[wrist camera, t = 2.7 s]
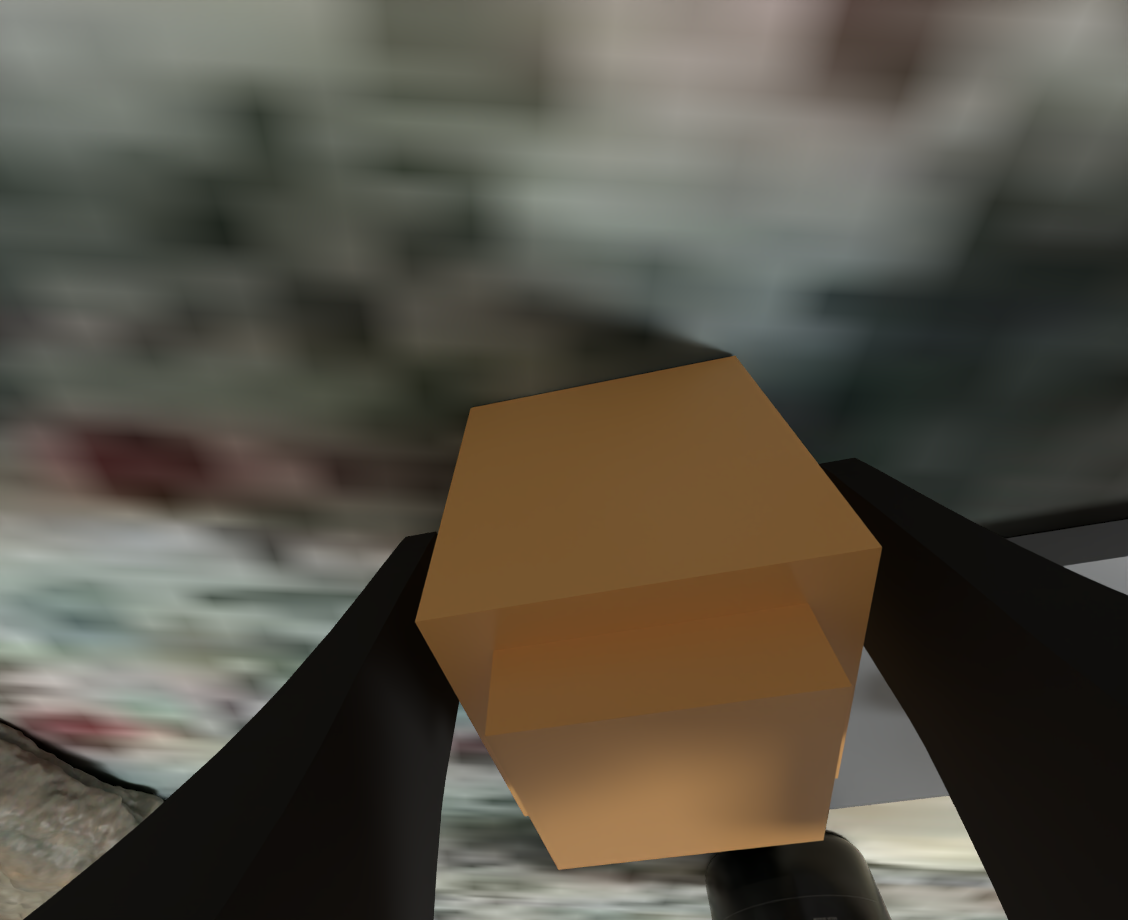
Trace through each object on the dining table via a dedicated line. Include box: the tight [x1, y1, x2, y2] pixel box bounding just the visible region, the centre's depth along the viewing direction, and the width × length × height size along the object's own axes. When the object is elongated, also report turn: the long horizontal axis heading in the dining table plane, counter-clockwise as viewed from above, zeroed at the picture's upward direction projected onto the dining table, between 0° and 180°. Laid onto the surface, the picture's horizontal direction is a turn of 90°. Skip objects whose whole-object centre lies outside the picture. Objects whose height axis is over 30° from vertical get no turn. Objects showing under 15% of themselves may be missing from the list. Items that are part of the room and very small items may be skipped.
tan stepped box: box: [415, 356, 882, 870], centre depth 9 cm, size 5×5×6 cm
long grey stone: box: [0, 723, 164, 920], centre depth 19 cm, size 35×5×10 cm
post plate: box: [829, 519, 1128, 809], centre depth 13 cm, size 11×10×4 cm
